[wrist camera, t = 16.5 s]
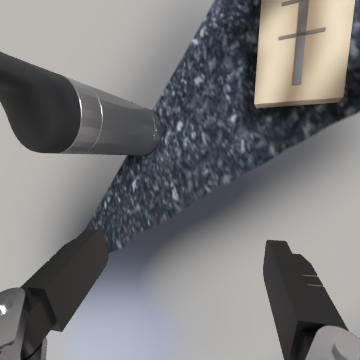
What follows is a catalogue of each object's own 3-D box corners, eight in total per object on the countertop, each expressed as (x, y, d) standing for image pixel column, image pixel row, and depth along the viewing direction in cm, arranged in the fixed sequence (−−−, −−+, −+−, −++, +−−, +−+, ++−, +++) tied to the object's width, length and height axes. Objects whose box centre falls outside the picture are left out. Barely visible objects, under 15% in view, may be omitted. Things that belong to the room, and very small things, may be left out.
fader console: (256, 108, 31) (254, 104, 28) (266, -41, 28) (265, -59, 26) (338, 102, 26) (343, 96, 24) (358, -75, 24) (366, -99, 22)
